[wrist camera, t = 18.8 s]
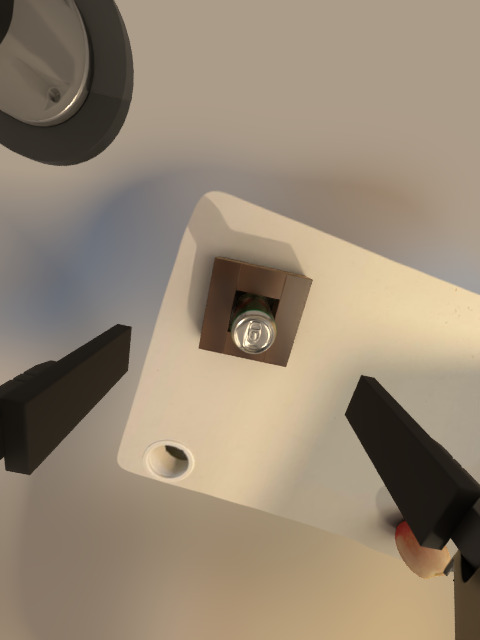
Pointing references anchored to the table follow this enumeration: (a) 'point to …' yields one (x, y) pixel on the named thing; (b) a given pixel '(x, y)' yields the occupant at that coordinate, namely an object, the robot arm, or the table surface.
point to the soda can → (253, 324)
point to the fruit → (420, 554)
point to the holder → (262, 282)
